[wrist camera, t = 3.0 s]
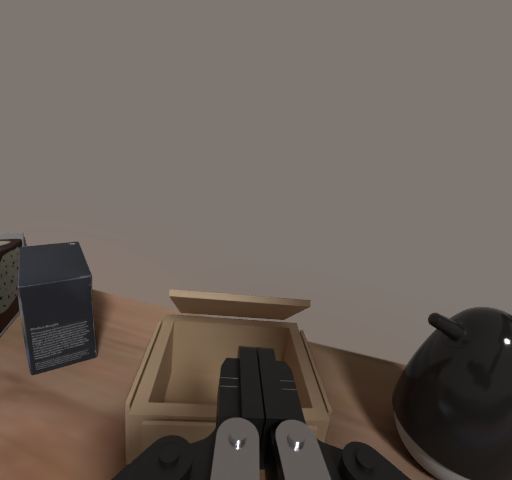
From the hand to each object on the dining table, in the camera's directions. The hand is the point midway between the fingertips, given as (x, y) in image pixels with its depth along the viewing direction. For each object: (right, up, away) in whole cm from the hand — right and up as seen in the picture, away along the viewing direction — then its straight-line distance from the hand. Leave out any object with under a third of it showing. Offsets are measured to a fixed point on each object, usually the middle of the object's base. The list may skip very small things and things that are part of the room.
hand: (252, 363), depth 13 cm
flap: (-2, -3, +20) cm, 20 cm away
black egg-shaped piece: (+17, -15, +15) cm, 27 cm away
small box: (-23, -7, +23) cm, 33 cm away
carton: (-3, -12, +16) cm, 20 cm away
